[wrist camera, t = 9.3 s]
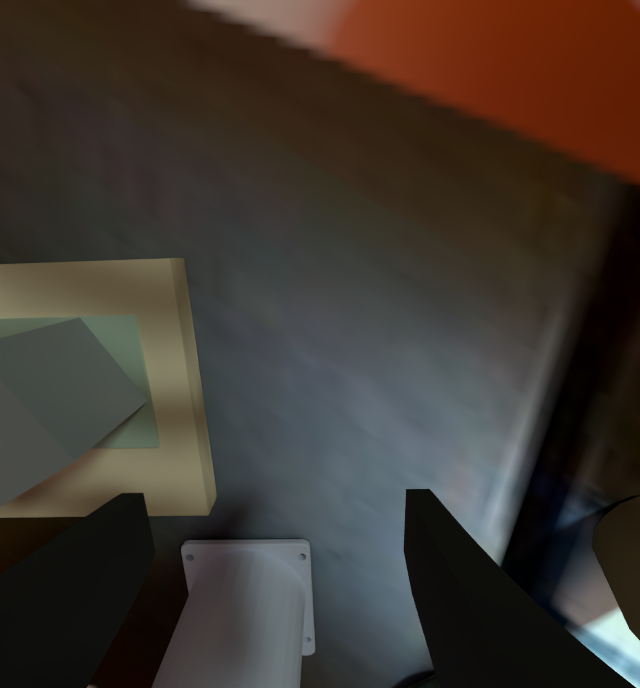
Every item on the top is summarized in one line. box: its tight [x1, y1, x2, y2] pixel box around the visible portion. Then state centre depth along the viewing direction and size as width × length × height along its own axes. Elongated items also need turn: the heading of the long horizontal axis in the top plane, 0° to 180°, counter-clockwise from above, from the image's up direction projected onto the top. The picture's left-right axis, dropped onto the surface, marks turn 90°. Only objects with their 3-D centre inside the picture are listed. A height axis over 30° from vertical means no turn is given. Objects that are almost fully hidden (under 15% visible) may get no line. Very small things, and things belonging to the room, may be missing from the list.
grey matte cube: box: [0, 317, 148, 507], centre depth 14 cm, size 5×5×5 cm
